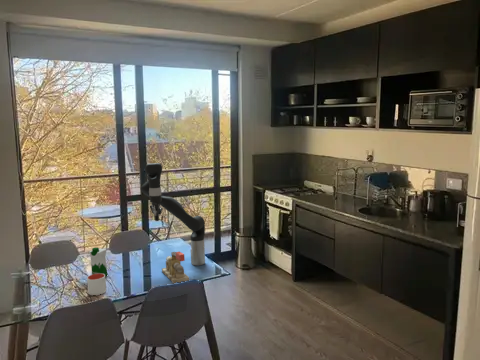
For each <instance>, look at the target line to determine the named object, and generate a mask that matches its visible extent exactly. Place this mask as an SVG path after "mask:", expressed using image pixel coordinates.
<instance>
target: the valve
mask: <svg viewBox="0 0 480 360" xmlns="http://www.w3.org/2000/svg"><path fill="white" fill-rule="evenodd" d="M161 272H162V273H163V274H164V275H165V276H166V277H167V278H168V279H169V280H170V281H171V282H172V284H177V283H176V282H179V283H182V282H181V281H184V282H188V281H190V277H189V276H188V274H186V273H185V269H184V266H183V265H182V264H181V261H179V260H178V259H176V256H172V255H168V256H166V258H165V267H164V268H161ZM187 280H188V281H187Z"/></svg>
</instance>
